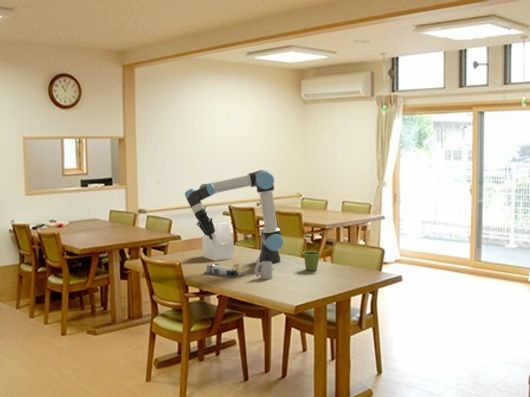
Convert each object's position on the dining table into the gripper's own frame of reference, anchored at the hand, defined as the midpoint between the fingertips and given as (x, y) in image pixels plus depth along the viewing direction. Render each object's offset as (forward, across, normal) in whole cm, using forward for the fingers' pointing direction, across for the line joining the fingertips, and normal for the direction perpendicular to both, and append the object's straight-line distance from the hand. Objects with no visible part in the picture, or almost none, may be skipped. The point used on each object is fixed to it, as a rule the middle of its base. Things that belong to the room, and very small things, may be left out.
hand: (215, 243), depth 394 cm
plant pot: (+44, -40, +27) cm, 65 cm away
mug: (+35, -2, +22) cm, 42 cm away
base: (+21, +5, 0) cm, 21 cm away
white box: (+3, -31, -37) cm, 49 cm away
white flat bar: (+18, +5, +1) cm, 18 cm away
